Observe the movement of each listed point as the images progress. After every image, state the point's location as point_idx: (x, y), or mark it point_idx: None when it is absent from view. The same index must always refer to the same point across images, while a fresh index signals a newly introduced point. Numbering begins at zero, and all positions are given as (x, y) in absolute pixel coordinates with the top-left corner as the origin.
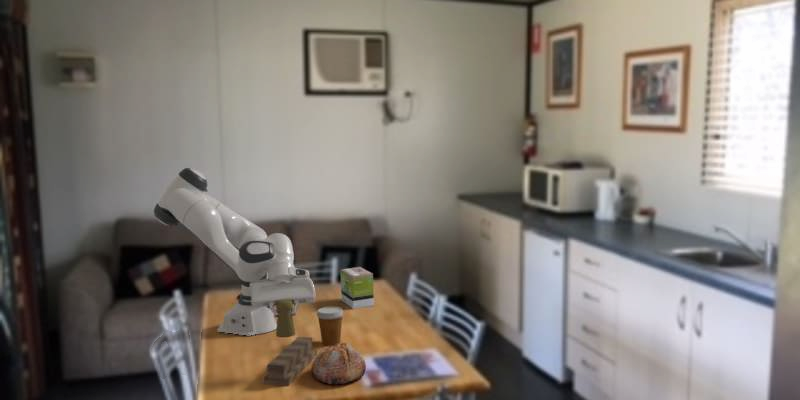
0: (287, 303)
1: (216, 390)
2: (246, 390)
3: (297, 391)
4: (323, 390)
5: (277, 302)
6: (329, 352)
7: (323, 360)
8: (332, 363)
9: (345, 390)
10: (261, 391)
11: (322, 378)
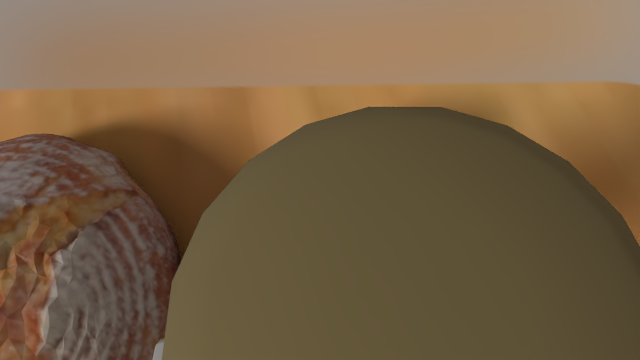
0: (272, 153)
1: (619, 110)
2: (478, 111)
3: (242, 105)
4: (127, 116)
5: (617, 214)
6: (10, 250)
7: (73, 193)
8: (21, 158)
9: (30, 117)
10: (404, 103)
11: (118, 158)
